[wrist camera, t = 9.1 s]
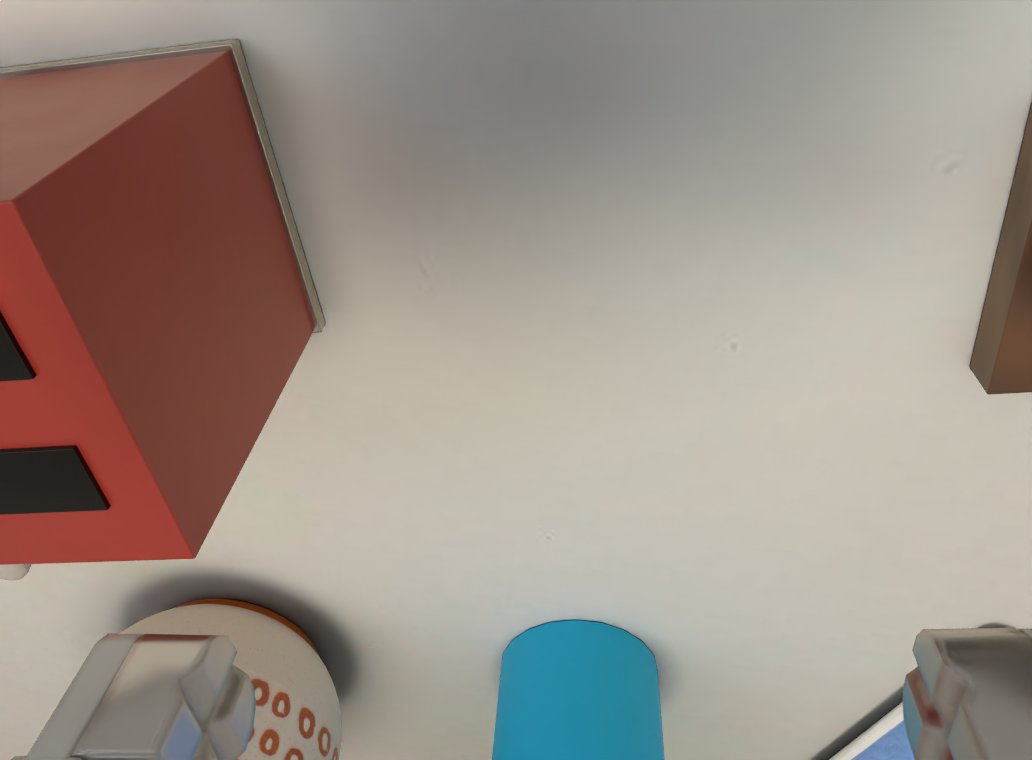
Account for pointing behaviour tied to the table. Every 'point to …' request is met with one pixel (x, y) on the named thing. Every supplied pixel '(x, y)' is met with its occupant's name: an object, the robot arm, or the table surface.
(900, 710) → the tablet
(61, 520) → the toaster
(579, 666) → the mug
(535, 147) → the table surface
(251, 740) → the vase
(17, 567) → the rubber duck
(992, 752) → the robot arm
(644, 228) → the table surface
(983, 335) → the control block
